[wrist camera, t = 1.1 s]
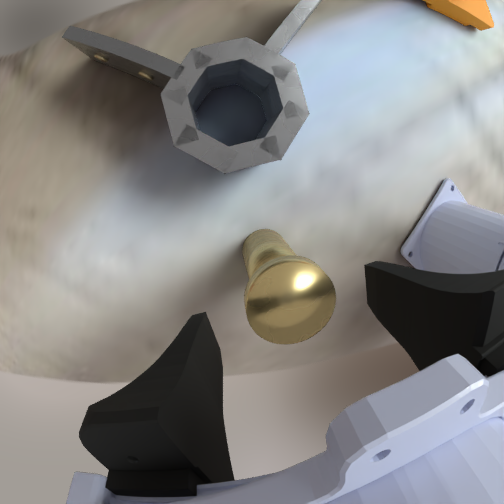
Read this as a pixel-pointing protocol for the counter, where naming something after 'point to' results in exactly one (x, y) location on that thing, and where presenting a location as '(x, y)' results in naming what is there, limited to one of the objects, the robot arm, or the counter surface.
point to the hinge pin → (284, 290)
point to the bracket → (464, 12)
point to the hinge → (216, 76)
